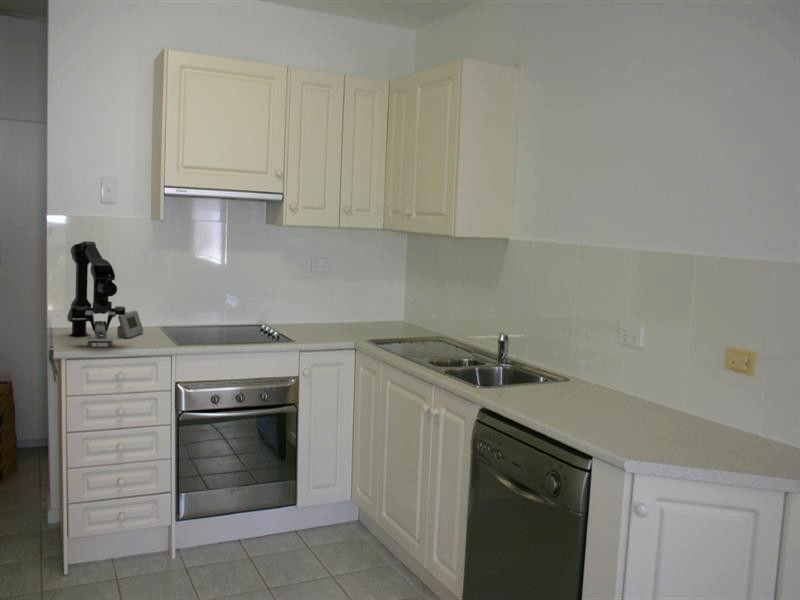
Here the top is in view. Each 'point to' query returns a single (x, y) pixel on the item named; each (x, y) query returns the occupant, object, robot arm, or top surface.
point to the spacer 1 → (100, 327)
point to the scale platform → (100, 338)
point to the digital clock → (129, 325)
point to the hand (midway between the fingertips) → (100, 331)
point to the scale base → (100, 343)
